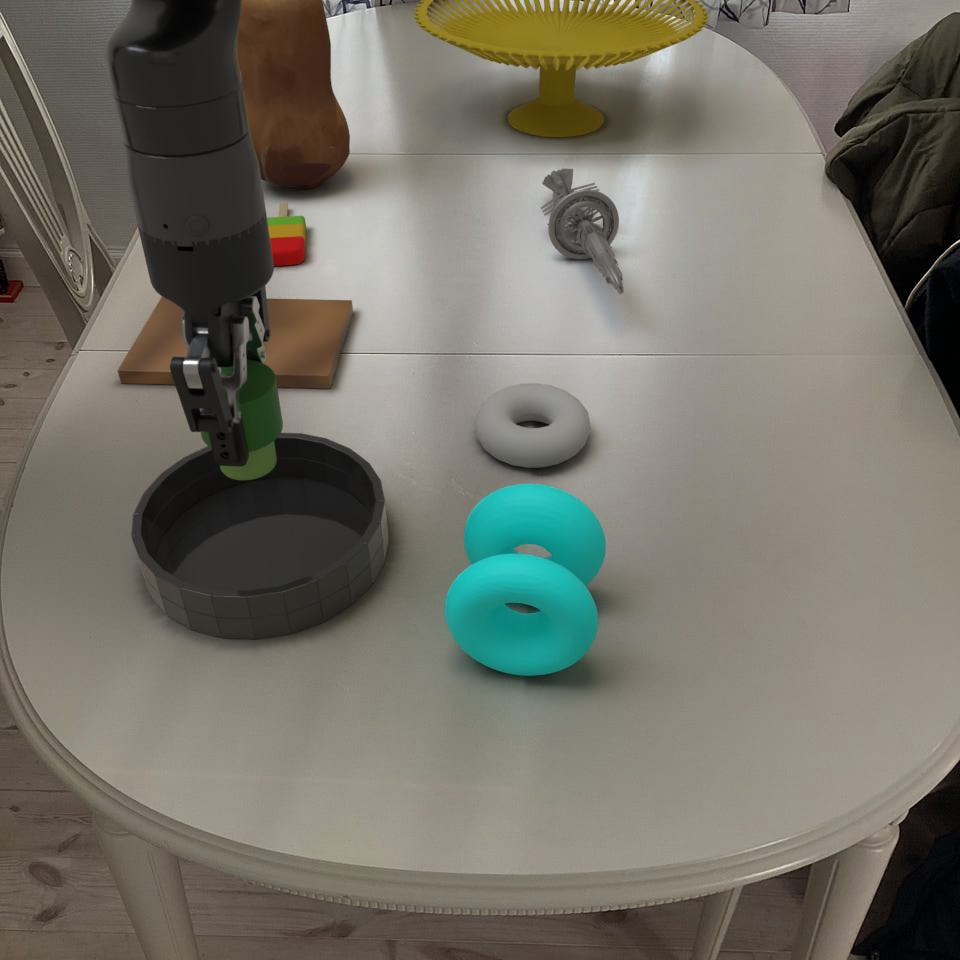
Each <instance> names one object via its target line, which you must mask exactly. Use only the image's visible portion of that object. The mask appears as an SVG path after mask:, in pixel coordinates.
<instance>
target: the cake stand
mask: <svg viewBox="0 0 960 960" xmlns="http://www.w3.org/2000/svg"><path fill="white" fill-rule="evenodd" d="M472 1H473V2H474V3H475V4H476V6H475V5H474V4H473V3H472V2H471V1H470V0H462V2H463V3H465V4H466V6H467V7H466V6H465V5H464V4H463V3H461V1H459V0H452V2H453V3H455V4H456V5H457V6H458V7H459V8H457V6H456V5H454V4H453V3H452V2H451V1H449V0H441V1H440V0H419V2H420V3H419V4H418V3H417V4H416V6H417V7H413V8H412V9H413V10H414V12H412V14H413V15H414V16H412V18H413V19H415V20H414V22H415V23H417V26H418V27H420V28H421V29H422V31H424V32H426V33H427V34H428V35H430V36H433V37H434V38H436V39H439V40H441V41H443V42H445V43H448V44H449V45H452V46H454V47H455V48H458V49H461V50H463V51H465V52H467V53H470V54H472V55H473V56H476V57H478V58H481V59H483V60H487V61H489V62H491V63H493V62H494V63H496V64H503V65H506V66H513V67H515V68H518V67H520V66H521V67H523V68H525V69H528V68H529V67H531V68H532V69H533V70H538V69H539V82H538V84H539V85H538V97H537V98H535V99H533V100H530V101H528V102H525V103H524V104H522V105H520V106H517V107H515V108H514V109H512V110H511V111H510V112H509V114H508V116H507V121H508V123H509V125H510V126H511V127H513V128H514V129H515V130H517V131H519V132H521V133H525V134H528V135H531V136H537V137H546V138H571V137H578V136H583V135H587V134H590V133H593V132H595V131H597V130H599V129H600V128H601V127H602V126H603V124H604V122H605V117H604V115H603V114H602V112H601V111H599V110H598V109H597V108H594V107H593V106H591V105H590V104H588V103H587V104H586V103H585V102H583V101H581V100H578V99H577V98H575V97H576V96H575V93H576V76H577V71H579V70H580V69H582V68H584V69H585V70H589V69H592V68H595V70H596V69H600V68H602V67H604V68H608V67H611V66H614V67H616V66H618V65H620V64H621V65H624V64H626V63H631V62H633V61H637V60H639V59H642V58H644V57H648V56H649V55H652V54H655V53H657V52H659V51H662V50H665V49H668V48H669V47H672V46H674V45H677V44H680V43H682V42H684V41H687V40H689V39H691V37H693V36H696V35H698V33H699V32H702V31H703V30H704V29H703V28H705V27H707V26H708V25H707V24H709V23H710V22H711V21H710V20H709V19H710V18H711V16H709V15H710V12H708V11H707V10H708V8H705V7H704V6H705V4H703V3H699V2H700V0H678V1H677V0H668V1H667V2H666V3H664V4H663V5H662V6H661V7H659V6H660V5H661V4H662V3H663V2H665V1H666V0H657V1H656V2H655V3H654V4H652V3H653V2H654V0H646V1H645V2H644V3H643V5H641V3H642V2H643V1H644V0H635V2H634V3H633V4H631V5H630V3H631V2H632V1H633V0H625V1H624V2H623V3H622V4H621V5H620V7H618V6H619V4H620V3H621V2H622V0H614V2H613V3H612V4H611V6H610V7H609V5H610V2H611V1H612V0H604V1H603V3H602V5H601V6H600V7H599V5H600V2H601V0H594V1H593V3H592V5H591V6H590V8H589V5H590V3H591V0H583V3H582V5H581V8H580V9H579V7H580V1H581V0H573V3H572V7H571V9H570V1H571V0H563V5H562V8H561V2H560V1H561V0H553V8H551V1H550V0H543V7H542V5H541V2H540V1H541V0H533V3H534V4H533V5H534V7H533V5H532V3H531V1H530V0H523V3H524V6H523V4H522V3H521V1H520V0H513V2H514V4H515V6H514V5H513V4H512V2H511V1H510V0H503V3H504V4H505V6H506V7H505V6H504V5H503V3H502V2H501V1H500V0H493V2H494V3H495V5H496V6H497V7H496V6H495V5H494V4H493V3H492V2H491V1H490V0H482V2H484V4H485V5H486V6H487V7H488V8H487V7H486V6H485V5H484V4H483V3H482V2H481V1H480V0H472ZM676 1H677V2H676ZM675 2H676V3H675ZM686 2H687V3H686ZM443 3H444V4H446V5H447V6H448V7H449V8H448V7H447V6H446V5H444V4H443ZM673 3H675V4H674V5H672V4H673ZM435 4H436V5H435ZM650 4H652V6H650V7H649V5H650ZM683 4H684V5H683ZM629 5H630V6H629ZM639 5H641V6H640V7H638V6H639ZM670 5H672V6H671V7H669V6H670ZM681 5H683V6H682V7H680V6H681ZM477 6H478V7H479V8H478V7H477ZM628 6H629V7H628ZM439 7H440V8H441V9H440V8H439ZM468 7H469V8H468ZM627 7H628V8H627ZM637 7H638V8H637ZM647 7H649V8H647ZM657 7H659V8H658V9H656V8H657ZM668 7H669V8H668ZM678 7H680V8H679V9H677V8H678ZM450 8H451V9H452V10H453V11H452V10H451V9H450ZM636 8H637V9H636ZM646 8H647V9H646ZM666 8H668V9H667V10H666V11H664V10H665V9H666ZM687 8H688V9H687ZM442 9H443V10H444V11H446V12H447V13H449V14H447V13H446V12H444V11H443V10H442ZM470 9H471V10H470ZM635 9H636V10H635ZM645 9H646V10H645ZM655 9H656V10H655ZM675 9H677V10H676V11H674V10H675ZM434 10H435V11H434ZM462 10H463V11H462ZM654 10H655V11H654ZM454 11H455V12H454ZM663 11H664V12H663ZM673 11H674V12H673ZM682 11H684V12H682ZM693 11H694V12H693ZM661 12H662V13H661ZM671 12H673V13H671ZM681 12H682V13H681ZM691 12H692V13H691ZM650 13H651V14H650ZM670 13H671V14H670ZM689 13H691V14H689ZM668 14H670V15H668ZM678 14H679V15H678ZM688 14H689V15H688ZM433 15H434V16H433ZM667 15H668V16H667ZM676 15H677V16H676ZM686 15H687V16H686ZM685 16H686V17H685ZM673 17H674V18H673ZM681 18H682V19H681ZM689 23H690V24H689Z"/></svg>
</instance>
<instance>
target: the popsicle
mask: <svg viewBox="0 0 960 960" xmlns="http://www.w3.org/2000/svg"><path fill="white" fill-rule="evenodd" d="M278 207H279V208H278V216H272V217H267V222H268V229H269V236H270V243H271V249H272V256H273V263H274V267H277V266H279V267H280V266H294V265H299V264H302V263H303V261H304V260H305V257H306V237H307V236H306V235H307V233H306V232H307V223H306V218H305V216H304V215H289V216H288V211H289V203H288V201H281V202H279V206H278Z"/></svg>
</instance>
